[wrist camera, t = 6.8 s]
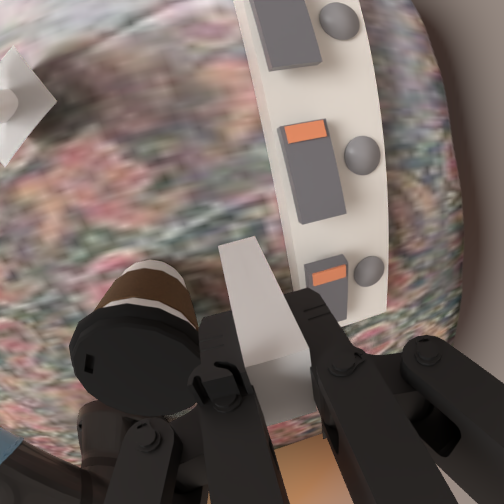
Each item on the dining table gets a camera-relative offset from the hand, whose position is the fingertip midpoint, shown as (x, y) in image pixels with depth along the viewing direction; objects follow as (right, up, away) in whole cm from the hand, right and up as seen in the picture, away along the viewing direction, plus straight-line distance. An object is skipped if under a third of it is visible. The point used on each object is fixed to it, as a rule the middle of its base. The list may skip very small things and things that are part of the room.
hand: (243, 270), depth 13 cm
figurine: (-19, +14, +7) cm, 25 cm away
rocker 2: (+7, -3, +14) cm, 16 cm away
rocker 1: (+5, +7, +9) cm, 12 cm away
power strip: (+7, +6, +16) cm, 18 cm away
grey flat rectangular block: (+2, +16, +4) cm, 16 cm away
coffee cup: (-9, -3, +17) cm, 20 cm away
